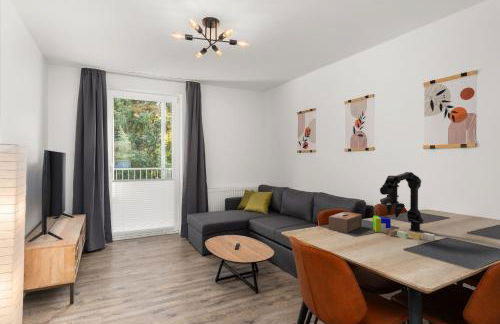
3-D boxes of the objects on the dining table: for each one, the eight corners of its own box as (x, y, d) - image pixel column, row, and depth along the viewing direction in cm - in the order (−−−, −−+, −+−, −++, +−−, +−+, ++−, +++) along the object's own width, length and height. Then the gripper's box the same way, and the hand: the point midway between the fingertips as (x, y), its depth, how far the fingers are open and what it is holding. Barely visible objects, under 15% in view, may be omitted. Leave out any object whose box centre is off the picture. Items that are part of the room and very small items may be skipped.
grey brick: (422, 238, 193) (422, 233, 193) (425, 237, 195) (425, 232, 195) (432, 240, 188) (432, 235, 188) (434, 240, 190) (434, 234, 190)
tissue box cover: (344, 223, 236) (344, 211, 236) (361, 226, 226) (361, 214, 226) (328, 229, 217) (328, 216, 217) (346, 233, 207) (346, 219, 207)
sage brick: (397, 236, 199) (397, 231, 199) (400, 235, 200) (400, 230, 200) (405, 238, 193) (405, 233, 193) (408, 238, 195) (408, 232, 195)
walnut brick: (384, 234, 204) (385, 229, 204) (388, 234, 204) (389, 229, 204) (390, 236, 198) (390, 231, 198) (394, 236, 199) (394, 231, 198)
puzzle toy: (390, 232, 207) (390, 219, 207) (375, 232, 209) (375, 218, 209) (386, 229, 217) (387, 216, 217) (372, 228, 219) (372, 215, 219)
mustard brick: (410, 237, 195) (410, 232, 195) (413, 237, 197) (413, 232, 197) (418, 240, 190) (418, 234, 190) (421, 239, 191) (421, 234, 191)
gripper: (374, 192, 208) (374, 213, 209) (389, 195, 190) (389, 219, 190) (389, 191, 209) (389, 213, 209) (405, 195, 190) (405, 218, 191)
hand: (392, 216), depth 200 cm, fingers open, 9 cm apart
